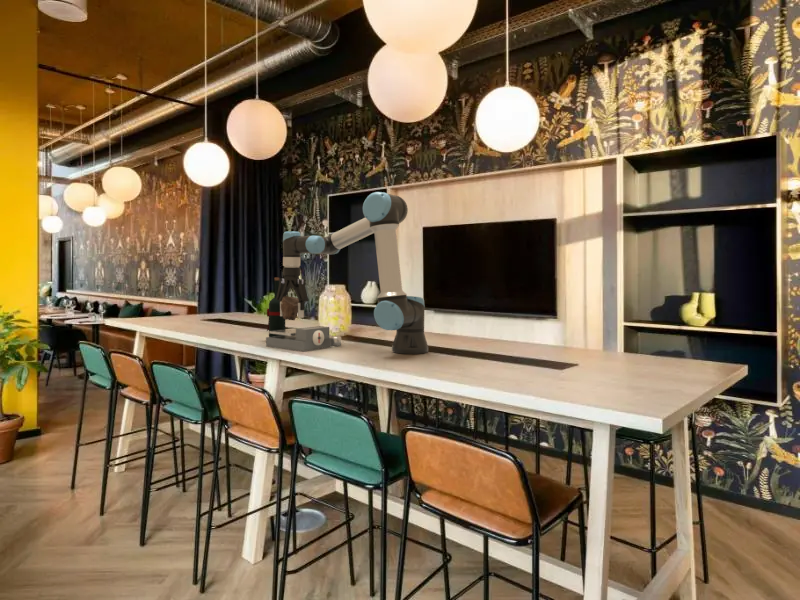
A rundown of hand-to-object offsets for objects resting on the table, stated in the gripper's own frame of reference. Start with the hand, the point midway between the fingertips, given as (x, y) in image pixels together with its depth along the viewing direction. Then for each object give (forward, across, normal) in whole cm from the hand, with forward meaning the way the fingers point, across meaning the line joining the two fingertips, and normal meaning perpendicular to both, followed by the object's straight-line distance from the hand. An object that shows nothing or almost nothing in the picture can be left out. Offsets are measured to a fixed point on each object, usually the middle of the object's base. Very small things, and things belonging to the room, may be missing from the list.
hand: (291, 316), depth 239 cm
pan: (+8, 0, 0) cm, 8 cm away
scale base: (+13, -4, 0) cm, 14 cm away
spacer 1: (+13, -8, -13) cm, 20 cm away
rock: (+2, +1, 0) cm, 2 cm away
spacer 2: (+13, -14, -13) cm, 23 cm away
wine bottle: (+13, +17, -5) cm, 22 cm away
